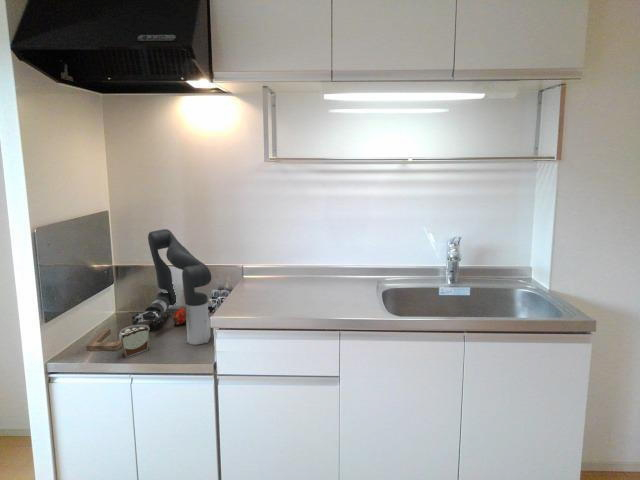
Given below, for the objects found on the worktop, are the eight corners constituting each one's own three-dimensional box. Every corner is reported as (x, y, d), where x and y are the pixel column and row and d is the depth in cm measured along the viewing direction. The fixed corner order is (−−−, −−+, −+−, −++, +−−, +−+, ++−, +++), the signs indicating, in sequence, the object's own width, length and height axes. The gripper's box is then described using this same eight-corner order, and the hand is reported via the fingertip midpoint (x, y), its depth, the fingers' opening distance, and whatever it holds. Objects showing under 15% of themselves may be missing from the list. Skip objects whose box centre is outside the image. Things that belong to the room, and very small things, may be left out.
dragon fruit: (193, 321, 216) (177, 333, 206) (181, 310, 217) (164, 322, 207) (200, 310, 212) (183, 322, 202) (187, 299, 213) (170, 310, 203)
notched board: (134, 332, 198) (134, 328, 198) (117, 350, 181) (117, 345, 180) (106, 333, 198) (105, 328, 198) (86, 350, 180) (86, 346, 180)
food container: (143, 344, 187) (141, 322, 185) (151, 348, 183) (149, 325, 181) (114, 354, 177) (112, 330, 175) (122, 358, 173) (120, 334, 172)
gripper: (140, 302, 207) (126, 315, 191) (171, 302, 208) (160, 314, 192) (141, 317, 209) (128, 331, 193) (172, 317, 209) (161, 331, 193)
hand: (144, 323), depth 192 cm, fingers open, 8 cm apart
